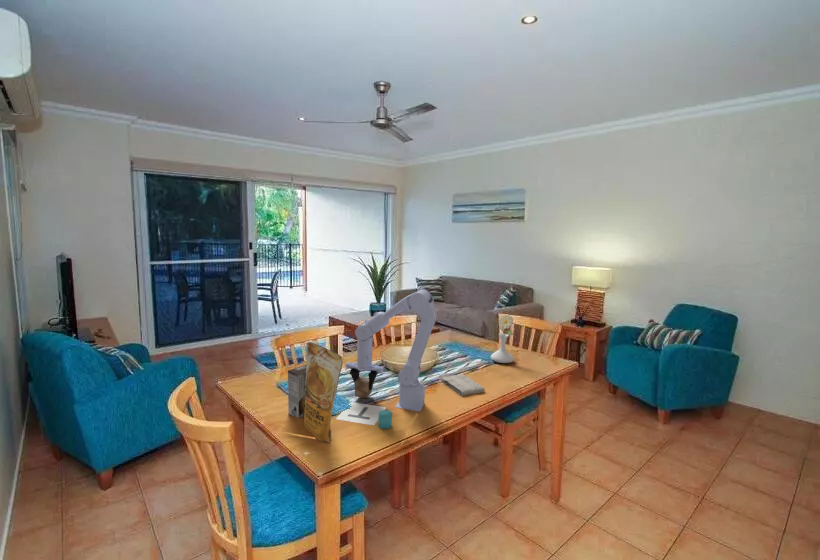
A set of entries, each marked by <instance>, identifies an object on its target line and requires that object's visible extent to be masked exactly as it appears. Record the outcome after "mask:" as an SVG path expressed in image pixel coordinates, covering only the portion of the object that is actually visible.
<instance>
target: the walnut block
mask: <svg viewBox="0 0 820 560" xmlns="http://www.w3.org/2000/svg"><path fill="white" fill-rule="evenodd" d="M372 391H373V389H372V390H369V377H367V376H366V377H365V376H359V378H358V379H357V380H356V381H355V384H354V397H355V398H356V397H358V398H364V399H367V398H369V396H370V395H371V394H372V393H373V392H372Z"/></svg>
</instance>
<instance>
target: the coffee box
mask: <svg viewBox="0 0 820 560" xmlns="http://www.w3.org/2000/svg"><path fill="white" fill-rule="evenodd" d="M305 381H306V364H304V365H301V366H297V367H295V368H292V369H289V370H287V388H288V389H287V391H288V392H287V394H288V395H287V400H288V403H287V404H288V406H287V407H288V408H287V409H288V414H289V415H290V416H292V417H296V418H297V419H298V418H299V419H301V418H302V417H303V418H304V411H305V398H306V385H305Z"/></svg>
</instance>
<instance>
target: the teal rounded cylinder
mask: <svg viewBox="0 0 820 560" xmlns="http://www.w3.org/2000/svg"><path fill="white" fill-rule="evenodd" d="M377 422H378V423H377V425H378V427H377V428H379V429H381V430H388V429H390V428H391V429H392V427H393V426H392V425H393V412H392V410H388V409H385V410H382V411H380V412H379V417H378V421H377Z"/></svg>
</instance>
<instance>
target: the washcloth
mask: <svg viewBox="0 0 820 560" xmlns="http://www.w3.org/2000/svg"><path fill="white" fill-rule="evenodd" d="M440 381H441V382H442V384H444V385H445V386H446V387H448V388H449V389H450V390H452V391H453V392H455V393H456V394H457V395H458V396H460V397H465V396H469V395H476V394H480V393H481V394H482V393H485V387H484V386H482V385H481V384H479V383H478V382H476V381H475V380H473V379H472V378H471V377H469V376H467V375H466V374H464V373H458V374H455V375H454V374H453V375H452V374H450V375H449V374H448V375H445V376H442V377H441V379H440Z"/></svg>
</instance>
